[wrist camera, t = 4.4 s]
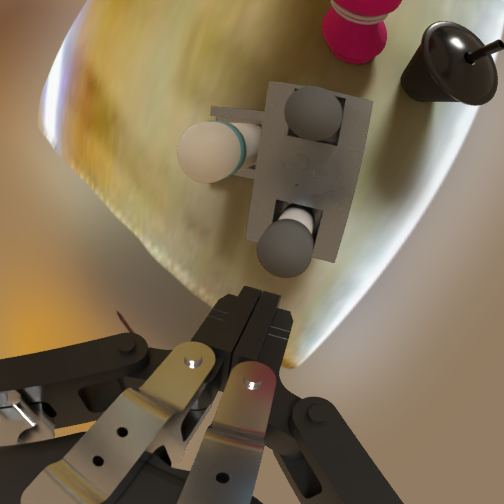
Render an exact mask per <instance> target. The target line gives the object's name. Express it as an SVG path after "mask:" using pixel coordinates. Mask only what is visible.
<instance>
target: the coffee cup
mask: <svg viewBox="0 0 504 504" xmlns="http://www.w3.org/2000/svg"><path fill="white" fill-rule="evenodd" d="M261 129H262V126H261V125H258V124H246V123H229V122H224V121H207V122H199V123H196V124H194V125H192V126H190V127H189V128H188V129H187V130H186V131H185V132H184V133H183V135H182V136H181V138H180V141H179V144H178V150H177V154H178V160H179V164H180V166H181V168H182V170H183V171H184V172H185V174H186V175H187V176H188V177H190V178H191V179H193V180H194V181H197V182H200V183H213V182H216V181H220V180H224V179H226V178H228V177H230V176H232V175H234V174H235V173H236V172H238V171H240V170H243V169H245V168H247V167H250V166H252V165H254V164H256V162H257V156H258V149H259V142H260V135H261Z"/></svg>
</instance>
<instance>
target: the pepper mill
mask: <svg viewBox="0 0 504 504" xmlns="http://www.w3.org/2000/svg"><path fill="white" fill-rule="evenodd" d="M401 1H402V0H330V2H331V4H332V6H333V7H332V8H330V9H329V11H328V12H327V13H326V15H325V16H324V19H323V23H322V33H323V36H324V39H325V40H326V42H327V44H328V45H329V48H330V50H331V51H332V53H333V54H334V55H335V56H337V57H338V58H339V59H341V60H343V61H345V62H347V63H352V64H362V63H366V62H368V61H370V60H371V59H372V58H373V57H375V56H377V55H378V54H380V53H381V52H382V50H383V49H384V47H385V45H386V41H387V31H386V27H385V24H384V22H383V20H384V19H385V18H386V17H387V15H388V13H390V12H393V11H394V10H395V9H396V8H397V7H398V6H399V5H400V3H401Z"/></svg>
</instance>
